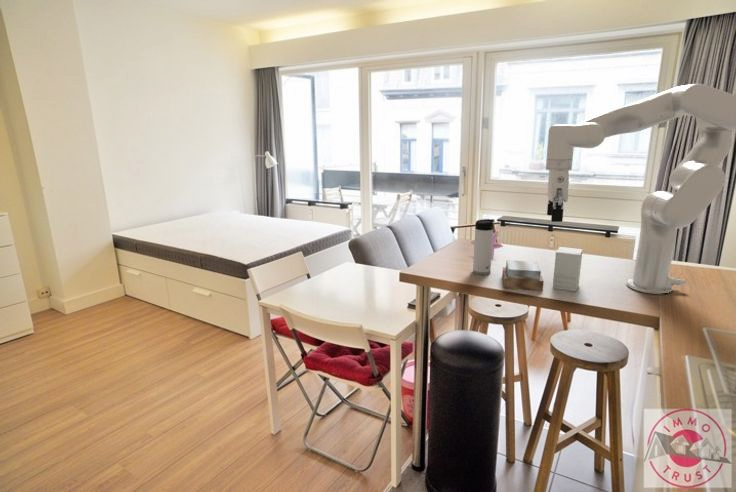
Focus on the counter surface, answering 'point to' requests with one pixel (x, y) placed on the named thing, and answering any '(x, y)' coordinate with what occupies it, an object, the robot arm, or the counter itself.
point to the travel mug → (483, 246)
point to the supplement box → (567, 268)
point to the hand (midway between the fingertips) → (554, 218)
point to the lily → (493, 243)
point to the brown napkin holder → (522, 276)
